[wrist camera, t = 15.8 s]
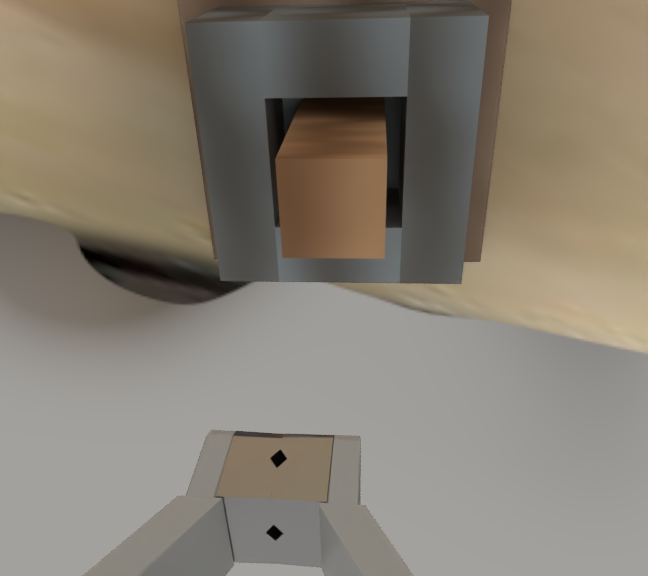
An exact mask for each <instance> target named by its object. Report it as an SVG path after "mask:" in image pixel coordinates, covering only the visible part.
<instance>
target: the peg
mask: <svg viewBox="0 0 648 576" xmlns="http://www.w3.org/2000/svg"><path fill="white" fill-rule="evenodd" d="M275 164H276V178H277V191H278V204H279V217H280V231H281V244H282V257H283V258H355V259H385V231H386V191H387V141H386V119H385V97H333V98H302V100H301V103H300V105H299V107H298V109H297V112H296V114H295V116H294V118H293V120H292V123H291V125H290V127H289V129H288V132H287V134H286V136H285V138H284V141H283V143H282V145H281V147H280V149H279V152H278V154H277V156H276V158H275Z"/></svg>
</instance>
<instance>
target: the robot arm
mask: <svg viewBox="0 0 648 576" xmlns="http://www.w3.org/2000/svg"><path fill="white" fill-rule="evenodd" d="M360 467H361V439H360V436H343V435H342V436H341V435H335V436H334V435H309V434H272V433H258V432H243V431H221V430H211V431H210V432H209V434H208V435H207V437H206V439H205V442H204V445H203V448H202V450H201V453H200V456H199V459H198V462H197V465H196V468H195V470H194V473H193V476H192V479H191V482H190V485H189V487H188V491H187V493H186V496H177V497H176V498H175V499H174V500H172V501H171V502H170V503H169V504H168V505H166V506H165V507H164V508H163V509H162V510H160V511H159V512H158V513H157V514H156V515H154V516H153V517H152V518H151V519H150V520H149V521H147V522H146V523H145V524H144V525H143V526H142V527H140V528H139V529H138V530H137V531H135V532H134V533H133V534H132V535H131V536H130V537H128V538H127V539H126V540H125V541H123V542H122V543H121V544H120V545H119V546H117V547H116V548H115V549H114V550H113V551H111V552H110V553H109V554H108V555H107V556H105V557H104V558H103V559H102V560H101V561H100V562H98V563H97V564H96V565H95V566H94V567H92V568H91V569H90V570H89V571H88V572H86V573H85V574H84V575H83V576H225V575H226V574H227V573H228V572H229V571H230V569H231V568H232V567H233V566H234V562H241V563H242V562H243V563H273V564H287V565H299V566H310V567H321V568H322V570H323V573H324V575H325V576H413V574H412V573H411V571H410V570H409V568H408V567H407V565H406V564H405V562H404V561H403V559H402V558H401V557H400V555H399V554H398V552H397V551H396V549H395V548H394V547H393V545H392V544H391V542H390V540H389V539H388V538H387V536H386V535H385V533H384V532H383V530H382V529H381V527H380V526H379V524H378V523H377V522H376V520H375V519H374V517H373V516H372V514H371V513H370V511H369V510H368V508H367V507H366V506H365V505H360V475H361V468H360Z"/></svg>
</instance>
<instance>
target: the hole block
mask: <svg viewBox="0 0 648 576" xmlns="http://www.w3.org/2000/svg"><path fill="white" fill-rule="evenodd" d="M511 1H512V0H178V6H179V13H180V20H181V27H182V34H183V41H184V48H185V55H186V62H187V69H188V76H189V83H190V90H191V97H192V104H193V111H194V118H195V125H196V132H197V139H198V146H199V153H200V160H201V167H202V174H203V181H204V188H205V195H206V202H207V209H208V216H209V223H210V230H211V238H212V245H213V252H214V259H218V266H219V273H220V280H221V281H270V282H273V281H274V282H280V281H281V282H350V283H429V284H461V282H462V272H463V263H464V262H480V260H481V251H482V243H483V235H484V226H485V218H486V210H487V201H488V193H489V185H490V176H491V168H492V160H493V151H494V143H495V135H496V126H497V118H498V110H499V101H500V93H501V85H502V76H503V68H504V60H505V51H506V43H507V35H508V26H509V18H510V10H511ZM333 97H385V119H386V141H387V191H386V231H385V259H355V258H283V257H282V244H281V231H280V217H279V204H278V191H277V178H276V164H275V158H276V156H277V154H278V152H279V149H280V147H281V145H282V143H283V141H284V138H285V136H286V134H287V132H288V129H289V127H290V125H291V123H292V120H293V118H294V116H295V114H296V112H297V109H298V107H299V105H300V103H301V100H302V98H333Z"/></svg>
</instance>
